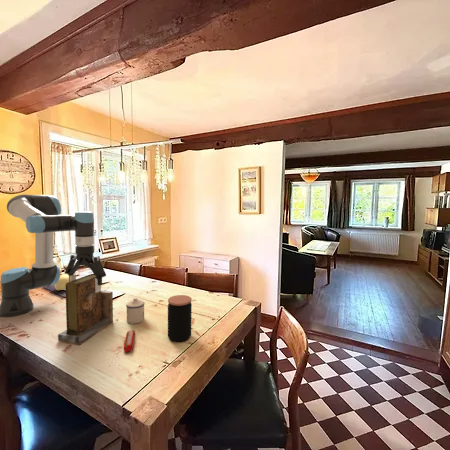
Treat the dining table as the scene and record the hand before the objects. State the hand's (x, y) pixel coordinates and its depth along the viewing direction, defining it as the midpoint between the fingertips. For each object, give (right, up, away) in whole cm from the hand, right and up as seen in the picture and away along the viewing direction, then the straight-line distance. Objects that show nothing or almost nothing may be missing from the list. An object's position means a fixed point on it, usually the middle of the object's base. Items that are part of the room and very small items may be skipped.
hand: (85, 290), depth 119 cm
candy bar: (+23, -22, -8) cm, 33 cm away
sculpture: (-47, -15, +58) cm, 76 cm away
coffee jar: (+44, -21, -2) cm, 49 cm away
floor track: (0, -20, +2) cm, 20 cm away
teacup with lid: (+17, -19, +15) cm, 30 cm away
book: (0, -19, +1) cm, 19 cm away
